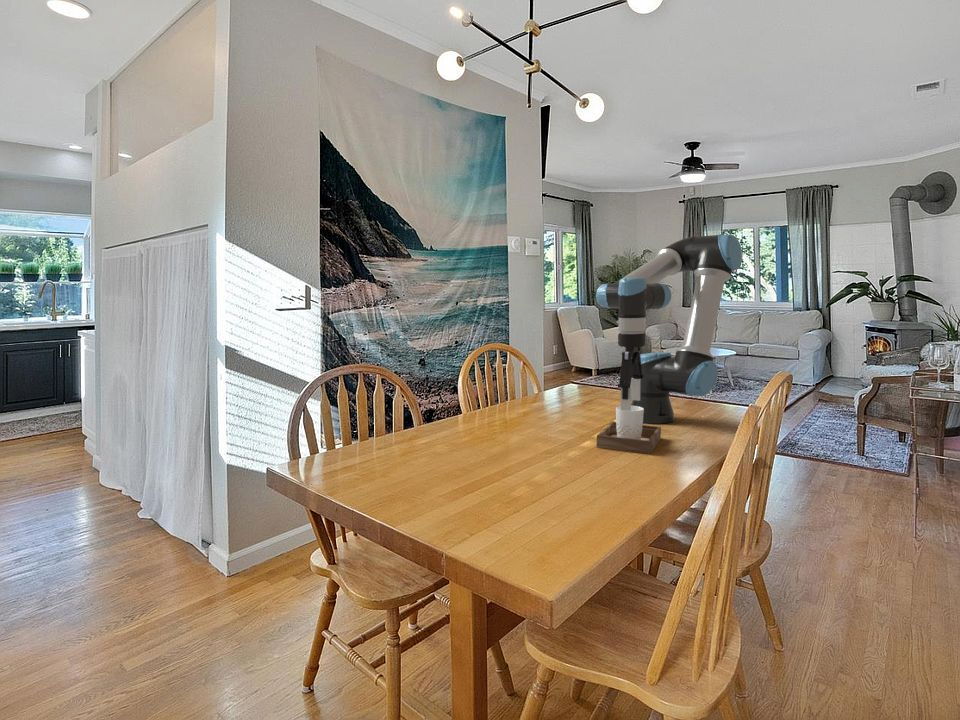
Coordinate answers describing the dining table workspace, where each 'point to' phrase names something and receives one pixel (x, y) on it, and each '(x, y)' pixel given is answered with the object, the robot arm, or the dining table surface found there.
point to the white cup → (629, 422)
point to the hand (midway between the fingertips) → (630, 405)
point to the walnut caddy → (645, 445)
